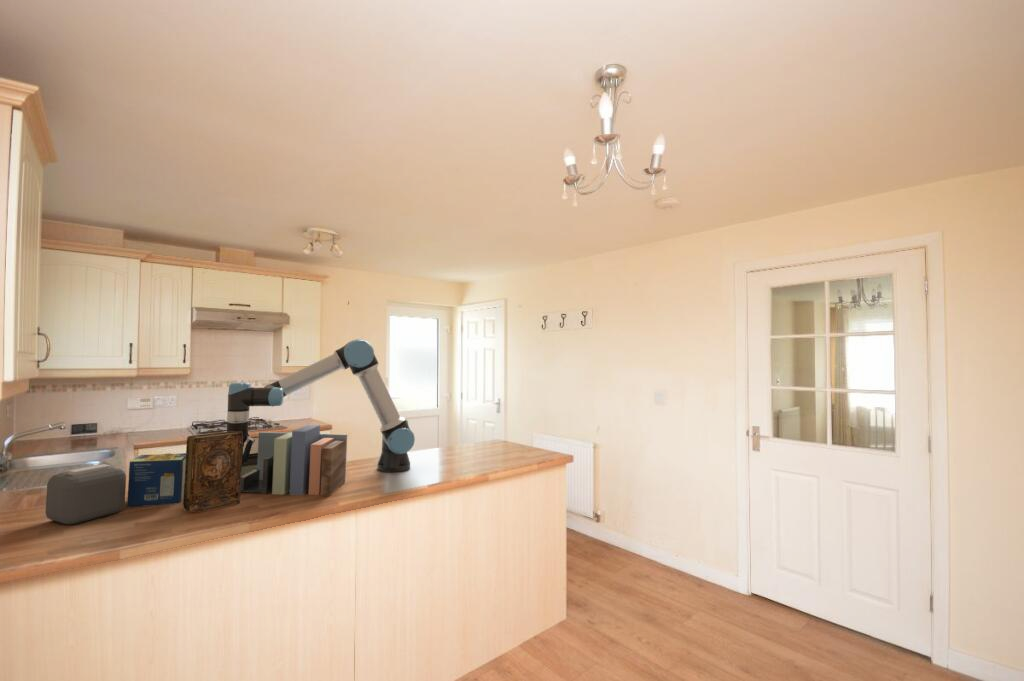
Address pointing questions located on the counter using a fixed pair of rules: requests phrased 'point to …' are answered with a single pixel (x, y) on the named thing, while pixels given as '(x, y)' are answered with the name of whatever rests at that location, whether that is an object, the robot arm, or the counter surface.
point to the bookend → (252, 481)
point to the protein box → (156, 479)
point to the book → (212, 471)
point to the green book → (282, 464)
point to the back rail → (268, 447)
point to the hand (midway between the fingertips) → (235, 481)
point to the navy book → (302, 457)
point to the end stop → (332, 467)
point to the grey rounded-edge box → (85, 494)
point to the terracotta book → (317, 465)
